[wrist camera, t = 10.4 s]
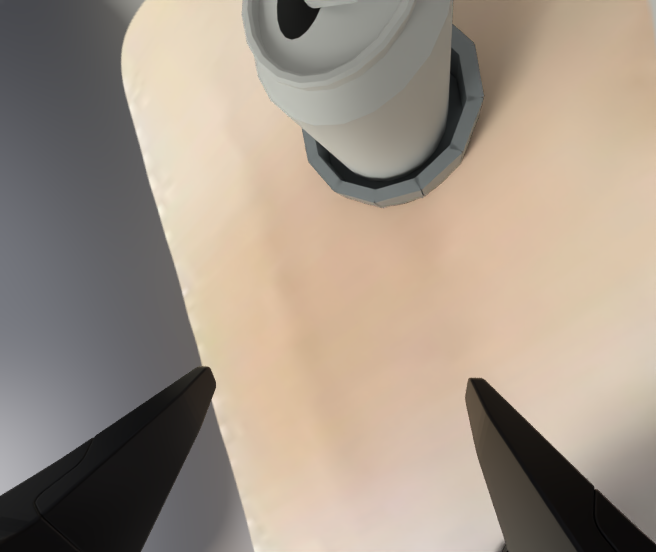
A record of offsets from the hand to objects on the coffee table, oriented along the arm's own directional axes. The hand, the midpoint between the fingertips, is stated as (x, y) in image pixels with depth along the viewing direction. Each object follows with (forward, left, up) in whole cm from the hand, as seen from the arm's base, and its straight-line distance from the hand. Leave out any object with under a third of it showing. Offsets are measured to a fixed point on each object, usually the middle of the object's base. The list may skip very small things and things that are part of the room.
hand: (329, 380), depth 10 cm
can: (+4, -12, -12) cm, 18 cm away
